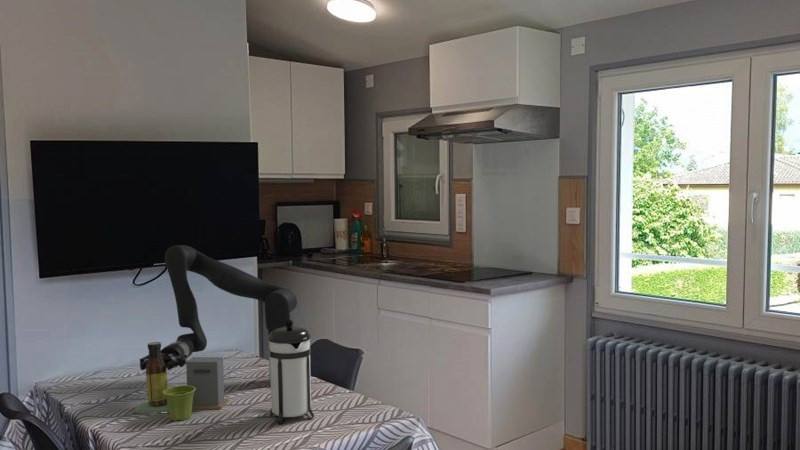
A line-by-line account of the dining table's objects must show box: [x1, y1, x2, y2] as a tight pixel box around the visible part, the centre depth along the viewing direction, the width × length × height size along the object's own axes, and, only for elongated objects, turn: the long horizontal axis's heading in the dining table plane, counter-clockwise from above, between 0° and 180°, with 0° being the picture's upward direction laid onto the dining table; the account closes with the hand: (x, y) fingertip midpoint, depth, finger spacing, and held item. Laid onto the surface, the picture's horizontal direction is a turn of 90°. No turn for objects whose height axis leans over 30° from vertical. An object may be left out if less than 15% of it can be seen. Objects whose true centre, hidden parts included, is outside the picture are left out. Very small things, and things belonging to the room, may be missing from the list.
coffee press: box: [267, 318, 315, 425], centre depth 206 cm, size 17×16×30 cm
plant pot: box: [163, 384, 196, 422], centre depth 206 cm, size 9×9×9 cm
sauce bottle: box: [145, 341, 169, 406], centre depth 216 cm, size 6×6×20 cm
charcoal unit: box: [185, 356, 229, 411], centre depth 217 cm, size 12×8×15 cm, turn 87°
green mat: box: [133, 399, 169, 414], centre depth 216 cm, size 11×11×1 cm
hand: (155, 367), depth 214 cm, fingers open, 8 cm apart
